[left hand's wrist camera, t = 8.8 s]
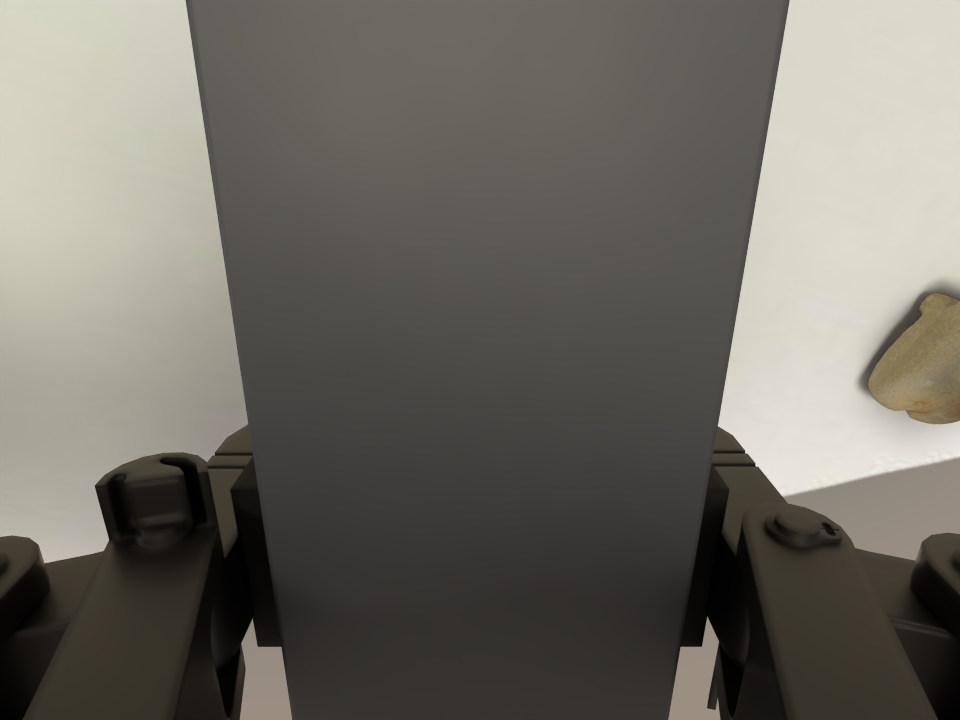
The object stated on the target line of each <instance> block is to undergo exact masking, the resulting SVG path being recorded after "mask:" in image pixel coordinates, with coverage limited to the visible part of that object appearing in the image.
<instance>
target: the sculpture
mask: <svg viewBox="0 0 960 720" xmlns="http://www.w3.org/2000/svg"><path fill="white" fill-rule="evenodd" d="M919 311H920V312H921V313H922V316H921V317H920V318H919V319H918V320H917V321H916V322H915V323H914V324H913V325H911V326H910V327H909V328H908V329H907V330H906V331H905V332H904V333H903V334H902V335H901V336H900V337H899V338H898V339H897V340H896V341H895V342H894V343H893V344H892V345H891V346H890V348H889V349H888V350H887V351H886V352H885V353H884V355H883V356H882V358H881V359H880V360H879V361H878V363H877V365H876V366H875V368H874V370H873V372H872V374H871V376H870V379H869V391H870V393H871V395H872V396H873V398H874V399H875V400H876V401H877V402H878V403H880V404H881V405H883V406H884V407H886V408H888V409H891V410H906V411H907V413H908V415H909V417H910V418H912V419H915V420H918V421H921V422H925V423H929V424H946V423H953V422H957V421H960V301H959V300H957V299H954V298H952V297H949V296H946V295H943V294H938V293H934V294H931V295H929V296H927V297H926V298H925V299H924V301H923V302H922V303H921V305H920V308H919Z"/></svg>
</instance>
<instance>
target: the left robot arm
mask: <svg viewBox="0 0 960 720" xmlns="http://www.w3.org/2000/svg"><path fill="white" fill-rule="evenodd" d="M95 489H96V492H97V496H98V500H99V504H100V507H101V511H102V515H103V518H104V522H105V526H106V529H107V533H108V537H109V542H108V544H107V546H106V548H105V550H104V551H102V552H98V553H94V554H90V555H85V556H80V557H75V558H70V559H65V560H60V561H55V562H50V563H45V564H44V561H43V558H42V554H41V551H40V548H39V545H38V544H37V543H35V542H34V541H33V540H31V539H30V538H26V537H19V536H5V537H0V720H240V712H241V703H242V695H243V686H244V678H245V662H244V656H243V651H242V645H241V642H242V640H243V638H244V636H245V634H246V632H247V629H248V627H249V625H250V623H251V621H252V618H253V622H254V628H255V633H256V639H257V645H258V647H282V646H281V639H280V633H279V626H278V619H277V612H276V606H275V599H274V592H273V585H272V579H271V572H270V565H269V558H268V552H267V545H266V538H265V531H264V525H263V518H262V511H261V504H260V498H259V491H258V484H257V477H256V471H255V464H254V457H253V450H252V444H251V437H250V430H249V424H248V425H247V426H245V427H243V428H242V429H240V430H239V431H237V432H235V433H234V434H232V435H230V436H229V437H227V439H226V440H225V441H224V442H223V443H222V445H221V446H220V447H219V448H218V450H217V451H216V452H215V456H212V457H211V458H210V460H209V461H208V462H206V461H205V460H203V459H202V458H200V457H199V456H197V455H193V454H188V453H183V452H182V453H161V454H156V455H151V456H146V457H142V458H139V459H136V460H134V461H131V462H128V463H126V464H123V465H121V466H119V467H117V468H116V469H114V470H112V471H111V472H109V473H107V474H106V475H104V477H103V478H102V479H101V480H100V481H99V482H98V483H97V484H96V485H95ZM707 616H708V618H709V621H710V623H711V625H712V627H713V629H714V631H715V634H716V636H717V638H718V640H719V645H718V651H717V656H716V661H715V666H714V672H713V677H712V682H711V687H710V693H709V699H708V706H707V708H709V709H714V710H715V709H716V704H717V699H718V702H719V710H720V718H721V720H960V534H953V533H943V534H936V535H931V536H929V537H928V538H927V539H925V540H924V541H923V542H922V544H921V547H920V550H919V553H918V556H917V559H916V561H914V560H909V559H904V558H899V557H894V556H889V555H884V554H878V553H873V552H868V551H864V550H861V549H857V548H855V547H854V545H853V543H852V541H851V539H850V538H849V536H848V535H847V534H846V533H845V531H844V530H843V529H842V528H841V527H840V526H839V525H837V524H836V523H834V522H833V521H832V520H830V519H829V518H827V517H826V516H824V515H822V514H819V513H817V512H814V511H812V510H810V509H807V508H805V507H800V506H796V505H792V504H788V503H787V502H786V501H785V499H784V498H783V497H782V496H781V494H780V493H779V492H778V491H777V490H776V488H775V487H774V486H773V485H772V483H771V482H770V481H769V480H768V478H767V477H766V476H765V475H764V473H763V472H762V471H761V470H760V469H759V467H756V466H755V462H754V461H753V460H752V459H751V457H750V456H749V455H748V454H745V450H744V449H743V448H742V446H741V445H740V444H739V443H738V441H737V440H736V439H735V438H734V436H733V435H731V434H730V433H728V432H726V431H725V430H723V429H721V428H720V427H717V433H716V439H715V445H714V451H713V457H712V462H711V468H710V474H709V480H708V486H707V492H706V498H705V504H704V510H703V516H702V522H701V528H700V534H699V540H698V545H697V551H696V557H695V563H694V569H693V575H692V581H691V587H690V593H689V599H688V605H687V611H686V617H685V622H684V628H683V634H682V640H681V646H680V647H701V646H702V643H703V637H704V631H705V625H706V620H707Z"/></svg>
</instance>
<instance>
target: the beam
mask: <svg viewBox="0 0 960 720" xmlns="http://www.w3.org/2000/svg"><path fill="white" fill-rule="evenodd" d="M186 5H187V12H188V19H189V25H190V32H191V39H192V46H193V52H194V59H195V66H196V73H197V79H198V86H199V93H200V100H201V106H202V113H203V120H204V127H205V133H206V140H207V147H208V154H209V160H210V167H211V174H212V181H213V187H214V194H215V201H216V208H217V214H218V221H219V228H220V235H221V241H222V248H223V255H224V262H225V268H226V275H227V282H228V289H229V295H230V302H231V309H232V316H233V322H234V329H235V336H236V343H237V349H238V356H239V363H240V370H241V376H242V383H243V390H244V396H245V403H246V410H247V417H248V423H249V430H250V437H251V444H252V450H253V457H254V464H255V471H256V477H257V484H258V491H259V498H260V504H261V511H262V518H263V525H264V531H265V538H266V545H267V552H268V558H269V565H270V572H271V579H272V585H273V592H274V599H275V606H276V612H277V619H278V626H279V633H280V639H281V646H282V653H283V660H284V666H285V673H286V680H287V686H288V693H289V700H290V707H291V714H292V720H668V717H669V711H670V705H671V699H672V694H673V688H674V682H675V676H676V670H677V664H678V658H679V652H680V646H681V640H682V634H683V628H684V622H685V617H686V611H687V605H688V599H689V593H690V587H691V581H692V575H693V569H694V563H695V557H696V551H697V545H698V540H699V534H700V528H701V522H702V516H703V510H704V504H705V498H706V492H707V486H708V480H709V474H710V468H711V462H712V457H713V451H714V445H715V439H716V433H717V427H718V421H719V415H720V409H721V403H722V397H723V391H724V385H725V379H726V374H727V368H728V362H729V356H730V350H731V344H732V338H733V332H734V326H735V320H736V314H737V308H738V302H739V297H740V291H741V285H742V279H743V273H744V267H745V261H746V255H747V249H748V243H749V237H750V231H751V225H752V219H753V214H754V208H755V202H756V196H757V190H758V184H759V178H760V172H761V166H762V160H763V154H764V148H765V142H766V137H767V131H768V125H769V119H770V113H771V107H772V101H773V95H774V89H775V83H776V77H777V71H778V65H779V59H780V54H781V48H782V42H783V36H784V30H785V24H786V18H787V12H788V6H789V0H186Z"/></svg>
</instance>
